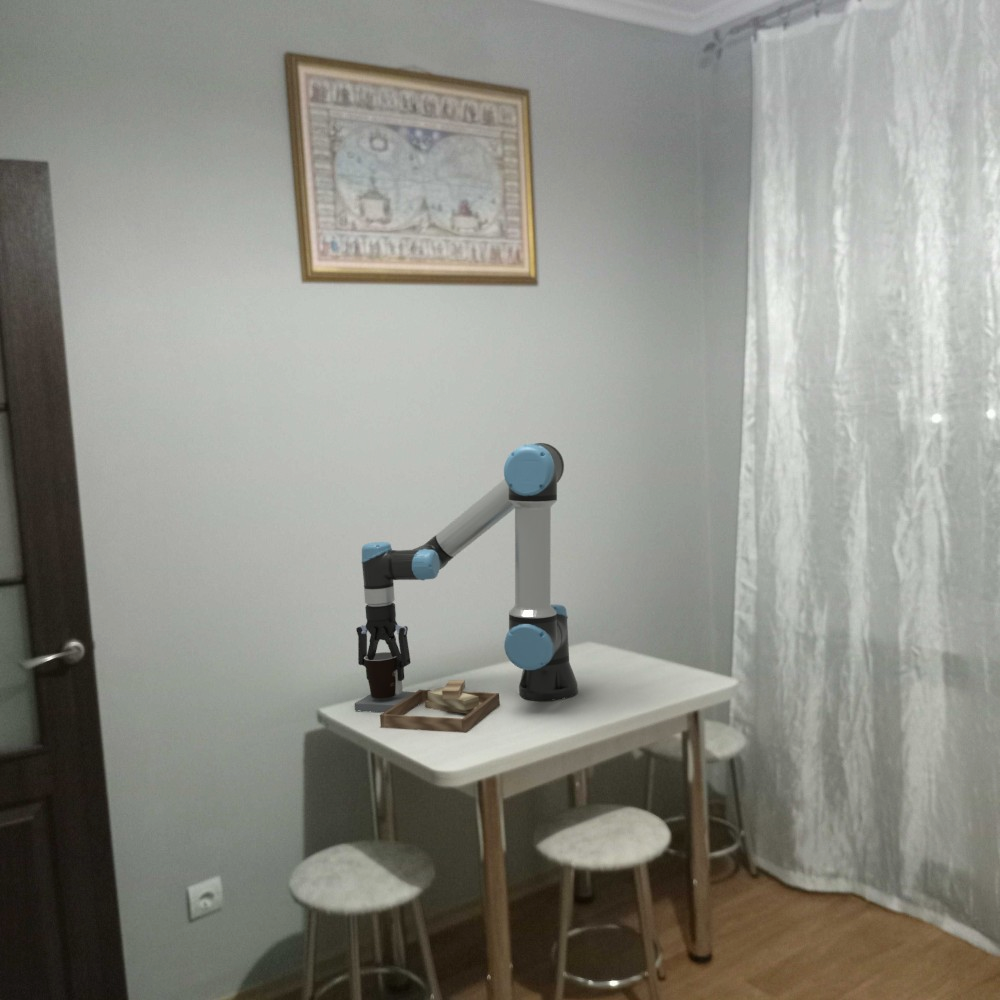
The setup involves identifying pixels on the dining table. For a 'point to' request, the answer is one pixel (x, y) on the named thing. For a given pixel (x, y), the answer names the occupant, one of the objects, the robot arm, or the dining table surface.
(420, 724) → the wooden tray
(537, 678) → the robot arm
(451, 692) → the offcut board beech
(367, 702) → the plate
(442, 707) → the offcut board oak
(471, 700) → the offcut board pine
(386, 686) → the coffee mug
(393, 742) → the dining table surface
